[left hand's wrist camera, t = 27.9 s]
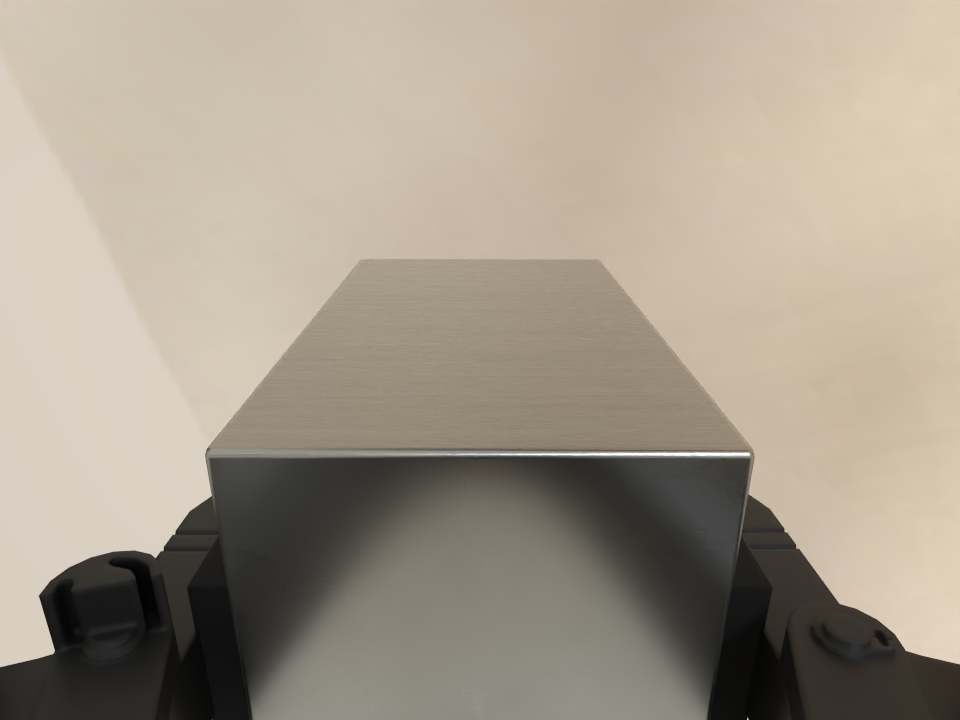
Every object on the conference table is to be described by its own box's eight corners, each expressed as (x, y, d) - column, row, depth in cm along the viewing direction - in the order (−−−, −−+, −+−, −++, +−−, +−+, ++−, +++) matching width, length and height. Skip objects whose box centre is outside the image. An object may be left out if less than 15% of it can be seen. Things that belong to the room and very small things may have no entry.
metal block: (583, 520, 18) (680, 906, 9) (376, 520, 18) (277, 907, 9) (600, 259, 15) (759, 451, 7) (359, 259, 15) (200, 450, 7)
